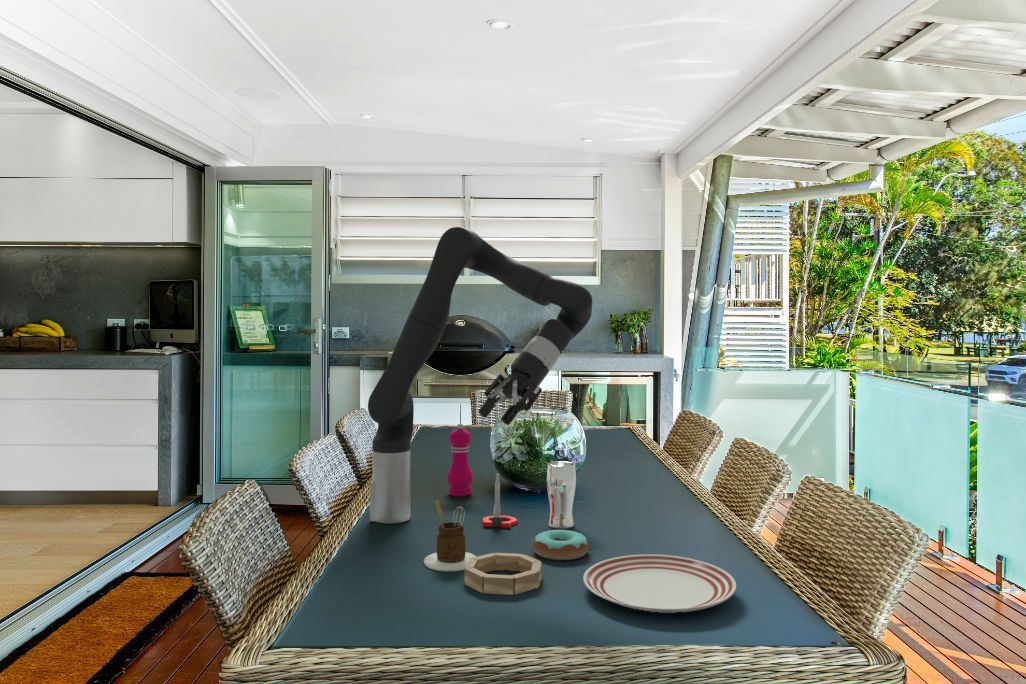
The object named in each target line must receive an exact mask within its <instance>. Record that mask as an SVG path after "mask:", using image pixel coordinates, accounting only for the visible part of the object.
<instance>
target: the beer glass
mask: <svg viewBox="0 0 1026 684" xmlns="http://www.w3.org/2000/svg"><path fill="white" fill-rule="evenodd" d="M576 476H577V475H576V463H575V462H572V461H566V460H564V461H563V460H562V461H561V460H557V461H556V460H555V461H550V462H548V463H547V472H546V489H547V496H548V502H549V509H550V511H549V512H550V513H549V520H548V527H550V528H553V529H556V530H568V529H572V528H573V527H574V526H575V522H574V518H573V505H574V500H575V494H576V487H577V486H576V483H577V477H576Z"/></svg>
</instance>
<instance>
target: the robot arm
mask: <svg viewBox="0 0 1026 684" xmlns="http://www.w3.org/2000/svg"><path fill="white" fill-rule="evenodd" d="M463 269H469V270H471V271H476V272H478V273H479V272H480V273H482V274H484V275H487V276H489V277H492V279H493V278H494V279H495V280H497V281H499V282H500V283H502V284H503V285H504V286H506V287H507V288H509V289H511V290H512V291H513V292H514V293H517V294H519V295H520V296H522V297H524V298H526V299H528V300H530V301H532V302H534V303H536V304H537V305H540V306H543V307H546V306H549V305H550V304H552V305H555V306H558V307H559V308H561V309H560V310H559V312H558V314H557V315H556V316H555V317H554V318H551V319H549V320H547V321H546V322H545V323H544V324H543V325H541V328H540V329H539V330H538V332H537V333H536V334H535V336H533V338H532V339H531V340H530V341H529V342H528V343H527V345H525V347H524V348H523V349H522V351H521V352H520V353H519V355H518V356H517V357H516V359H515V360H514V361H513V362H512V364H511V365H510V374H509V375H508V376H506V377H505V376H504V375H503V374H501V373H500V374H498V375H497V376H496V378H495V379H494V380H493V381H492V382H491V384H490V385H489V386H488V387H487V389H486V390H484V396H485V397H486V400H485V402H483V404H482V405H481V407H480V408H479V410H478V413H479V415H480V416H481V417H483V418H485V419H486V418H488V416H489V415H490V413H492V410H493V409H494V408H495V406H496V405H497V404H498V403H500V402H502V401H503V402H504V401H506V400H511V399H512V401H511V402H512V403H511V405H509V406H508V407H507V409H506V410H505V412H504V413H503V414H502V416H501V417H500V420H501V421H502V423H503V424H505V425H506V426H509V425H510V424H511V423H512V422H513V421H514V420H515V418H516V417H517V415H518V414H519V413H521V412H522V411H525V412H528V411H530V409H531V408H532V407H533V405H534V403H535V402H536V401H537V399H538V397H539V396H540V395H541V394H542V392H543V389H542V388H541V386H540V385H541V384H542V382H543V381H544V380H545V378H546V377H547V375H548V374H549V372H551V370H552V368H553V367H554V366H555V364H556V363H557V361H558V359H559V357H560V356H561V354H562V353H563V352H564V350H565V349H566V348H567V346H568V345H569V343H570V342H571V341H572V340H573V339H574V338H575V337H576V336H577V335H578V334H579V333H580V332H581V331H582V330H583V329H584V328H585V327H586V325H587V324H588V323H589V321H590V319H591V317H592V314H593V313H592V312H593V310H592V309H593V296H592V294H591V292H590V291H588V289H587V288H585V287H584V286H583V285H581V284H578V283H576V282H572V281H568V280H564V279H561V278H556V277H555V278H554V277H553V276H551V275H549V274H547V273H545V272H543V271H541V270H539V269H537V268H535V267H533V266H531V265H530V264H527V263H524V262H522V261H519V260H517V259H515V258H512V257H511V256H509V255H507V254H505V253H503V252H502V251H500V250H498V249H496V248H495V247H494V246H493V245H491V244H489V243H488V242H487V241H486V240H485V239H483V238H482V237H481V236H480V235H479V234H478V233H476V232H474V231H473V230H470V229H468V228H465V227H463V226H452V227H449V228H448V229H447V230H445V231H444V233H442V235H441V237H440V238H439V240H438V243H437V246H436V249H435V252H434V255H433V258H432V261H431V264H430V267H429V270H428V272H427V275H426V278H425V280H424V282H423V283H422V285H421V288H420V290H419V292H418V296H417V297H416V298H415V302H414V304H413V306H412V308H411V310H410V312H409V314H408V315H407V318H406V321H405V322H404V324H403V327H402V330H401V333H400V335H399V338H398V340H397V342H396V343H395V347H394V349H393V351H392V353H391V356H390V359H389V361H388V364H387V366H386V368H385V369H384V371H383V373H382V375H380V378H379V380H378V381H377V384H376V385H375V387H374V388H373V390H372V392H371V393H370V395H369V398H368V400H367V410H368V411H367V412H368V414H369V417H370V418H371V420H372V421H373V422H375V423H377V431H376V433H375V435H374V437H373V440H372V445H371V447H372V454H371V455H372V456H371V457H372V459H371V461H372V480H371V481H370V482H369V522H376V523H378V524H399V523H405V522H407V521H409V520H410V519H411V442H412V439H413V434H414V415H415V414H414V411H415V410H414V409H415V408H414V407H415V406H414V405H415V404H414V398H413V396H412V393H411V391H410V388H411V385H412V383H413V381H414V379H415V377H416V375H417V374H418V373H419V371H420V370H421V369H422V367H423V366H424V365H425V363H426V362H427V361H428V360H429V358H430V357H431V356H432V354H433V353H434V351H435V350H436V348H437V346H438V344H439V342H440V340H441V338H442V337H443V334H444V331H445V329H446V327H447V325H448V322H449V317H450V310H451V302H452V297H453V295H452V294H453V290H454V288H455V286H456V283H457V282H458V279H459V276H460V275H461V273H462V272H463ZM493 390H494V391H493ZM527 400H528V401H527ZM526 402H527V403H526Z"/></svg>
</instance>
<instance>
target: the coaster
mask: <svg viewBox="0 0 1026 684" xmlns="http://www.w3.org/2000/svg"><path fill="white" fill-rule="evenodd" d="M473 557H478V556H476V555H475V554H473V553H471V552H467V551H466V553H465V559H464V560H463V561H460V562H456V563H444V562H441V561H439V560H438V559H437V552H434V553H431V554H428V555H427V556H426V557H424V558H423V559H424V560H423V563H424V566H425V567H426V568H428V569H430V570H434V571H437V572H438V571H439V572H449V571H450V572H460V571H464V568H465V566H466V564H467V562H468V560H469V559H471V558H473Z"/></svg>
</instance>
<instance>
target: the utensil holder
mask: <svg viewBox="0 0 1026 684" xmlns="http://www.w3.org/2000/svg"><path fill="white" fill-rule="evenodd" d="M434 502H435V507H436V511H437V516H439V520H440V522H441V523H440V524H439V525H438V528H437V529H438V534H437V536H436V553H437V559H438V560H439V561H441V562H444V563H456V562H460V561H463V560H464V559H465V553H466V552H467V551H466V548H467V547H466V545H467V544H466V542H467V541H466V535H465V533H464V532H465V527H464V524H463V522H464V519H465V517H463V518H462V514H460V517H459V518H462V519H459V521H458V522H457V518H458V517H455V521H447V522H444V521H443V516H442V514H443V511H442V508H441V503H440V499H436V500H434ZM459 510H461V512H460V513H463V511H464V513H463V516H465V514H466V512H465V508H464V507H462V506H457V512H456V516H458V514H459ZM454 516H455V511H453V517H452V519H454ZM461 520H462V522H461Z"/></svg>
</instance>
